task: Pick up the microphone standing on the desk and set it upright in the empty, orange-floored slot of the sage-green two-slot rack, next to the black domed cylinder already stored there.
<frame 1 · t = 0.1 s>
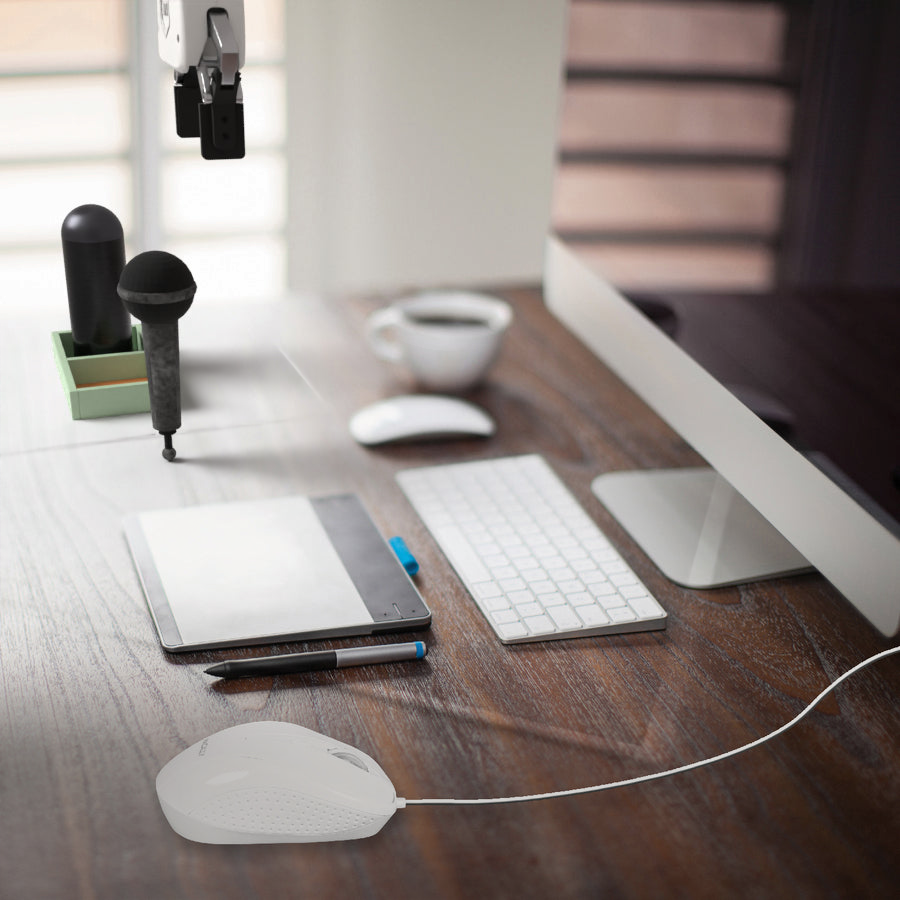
hand: (209, 147, 89), 30 cm above the table, tool pointing down, fingers open, 9 cm apart
microphone: (169, 461, 108), on the table
black domed cylinder: (105, 366, 128), resting on mic rack
mic rack: (111, 385, 124), on the table
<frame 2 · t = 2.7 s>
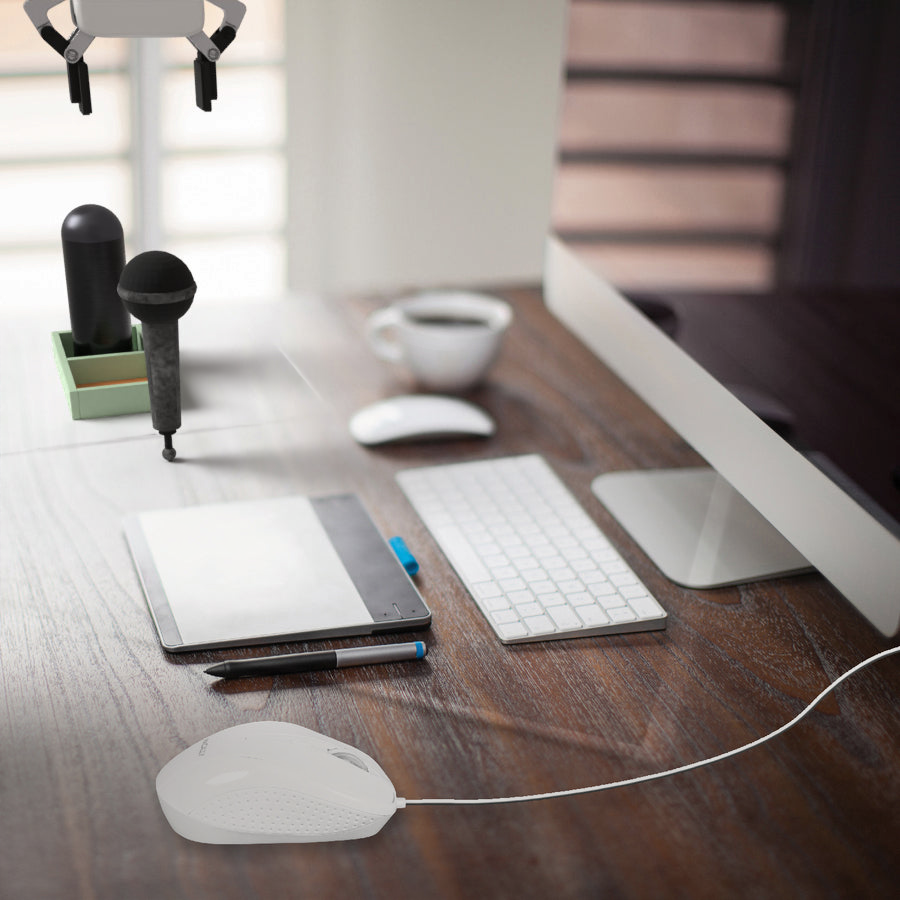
hand: (145, 111, 94), 32 cm above the table, tool pointing down, fingers open, 9 cm apart
nothing on the table moved.
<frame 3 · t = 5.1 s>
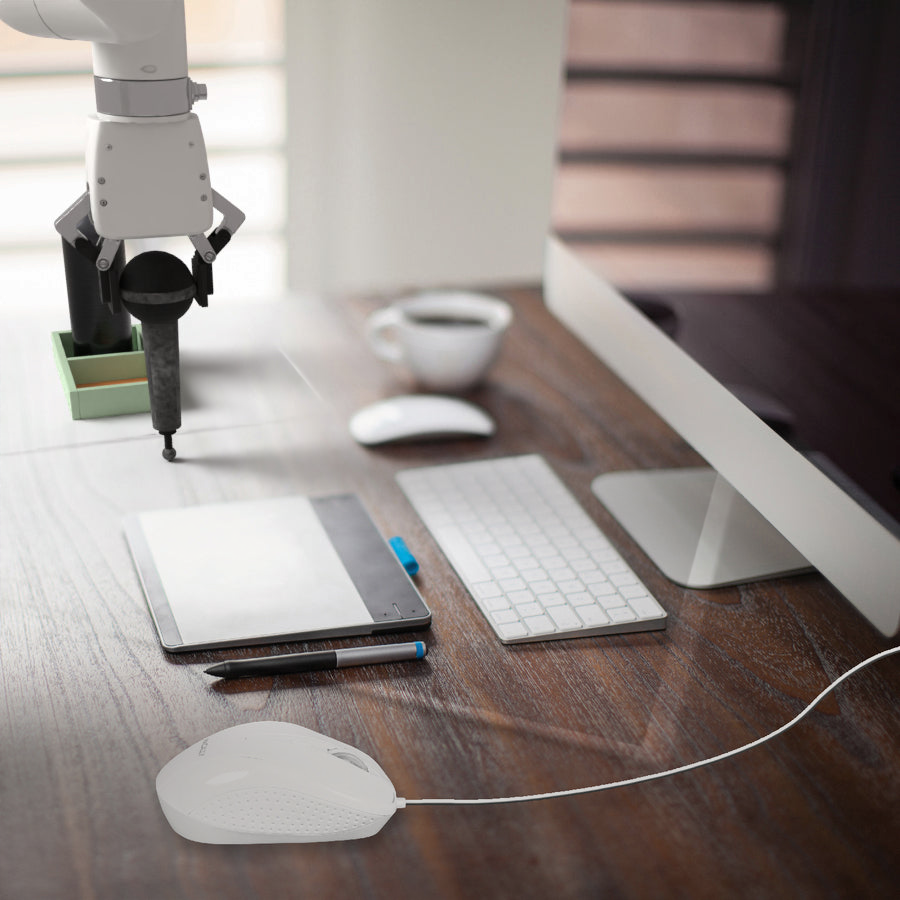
hand: (158, 305, 101), 15 cm above the table, tool pointing down, fingers closed on microphone, 7 cm apart
microphone: (169, 461, 108), on the table, touching gripper
everything else where it was.
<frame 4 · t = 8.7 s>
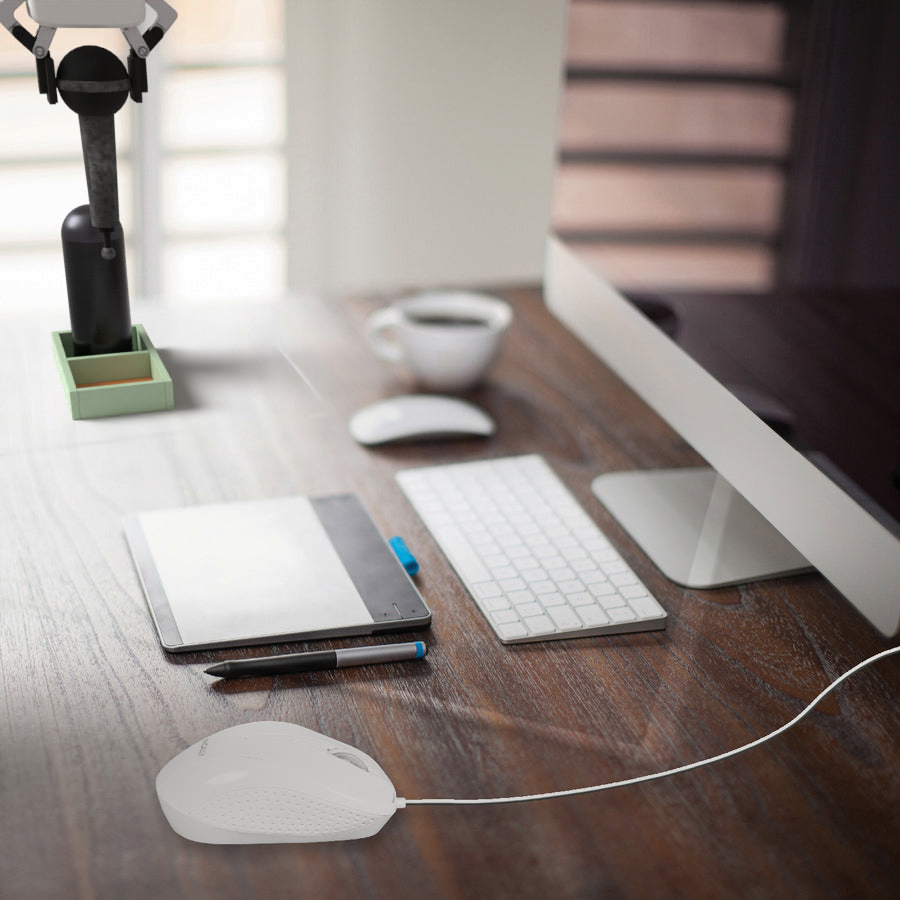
hand: (94, 100, 106), 31 cm above the table, tool pointing down, fingers closed on microphone, 7 cm apart
microphone: (109, 261, 112), point 15 cm above the table, touching gripper
everything else where it was.
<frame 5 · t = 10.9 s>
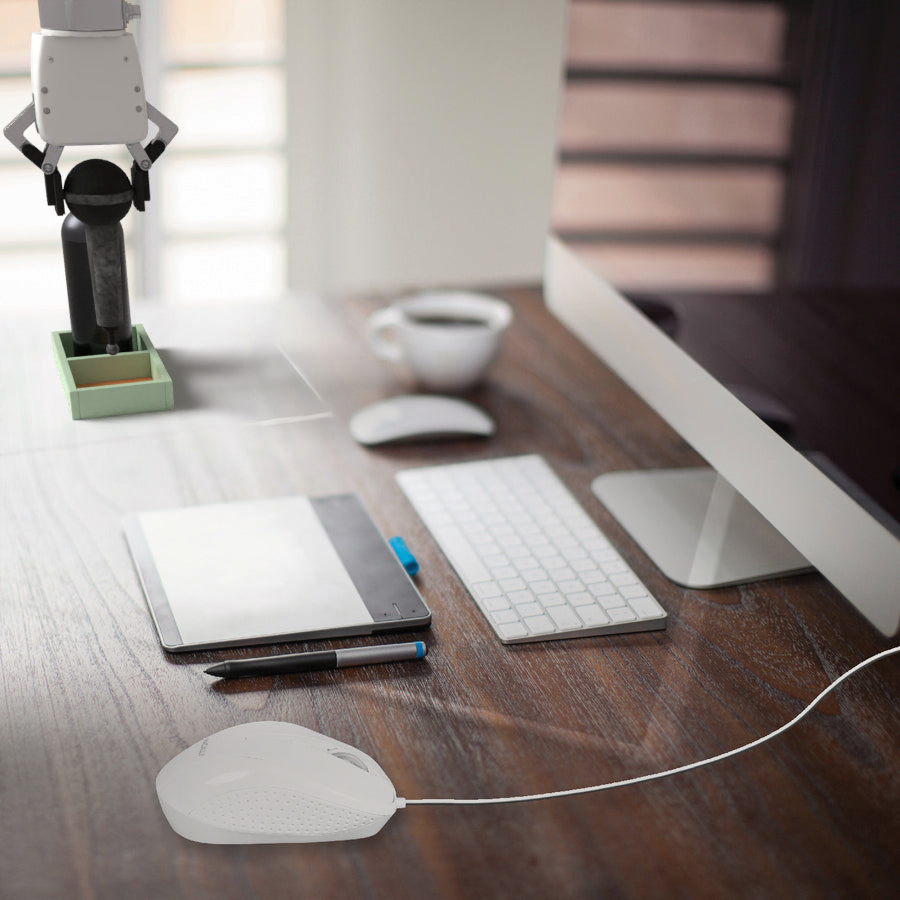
hand: (100, 209, 112), 20 cm above the table, tool pointing down, fingers closed on microphone, 7 cm apart
microphone: (113, 356, 118), point 5 cm above the table, touching gripper
everything else where it was.
when the fingers open (16 cm above the table, at t = 12.6 s): microphone stays where it is, resting on mic rack.
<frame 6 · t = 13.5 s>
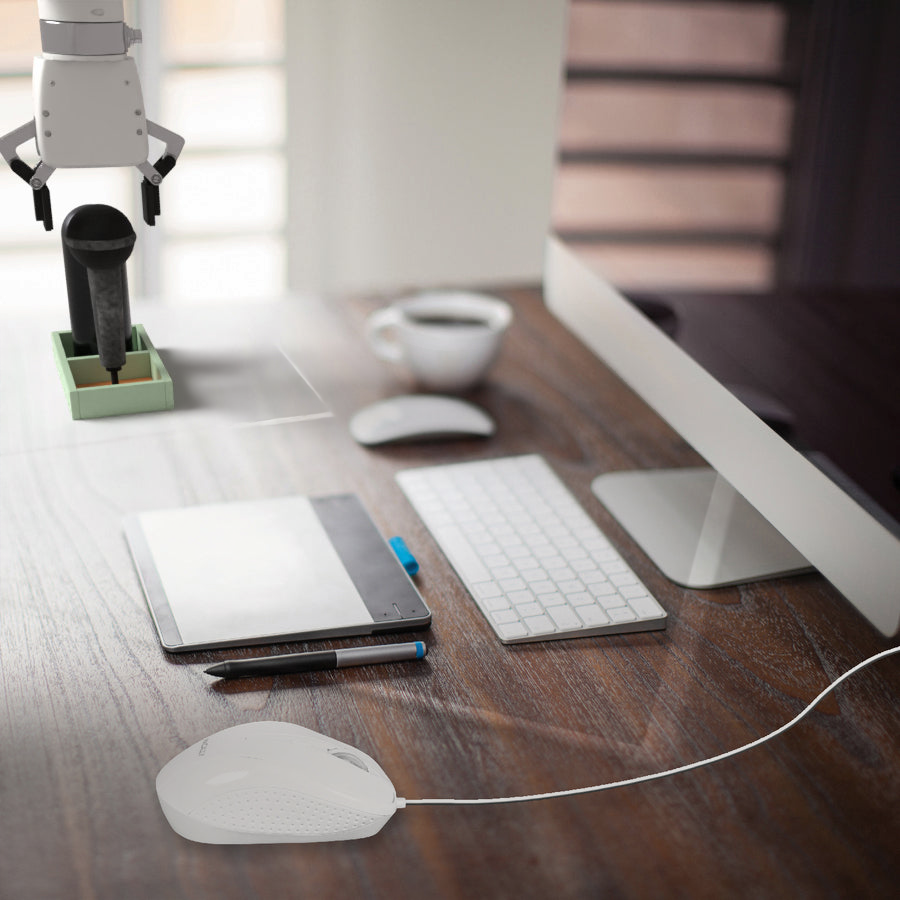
hand: (99, 225, 112), 19 cm above the table, tool pointing down, fingers open, 9 cm apart
microphone: (116, 396, 120), point 1 cm above the table, touching mic rack
everything else where it was.
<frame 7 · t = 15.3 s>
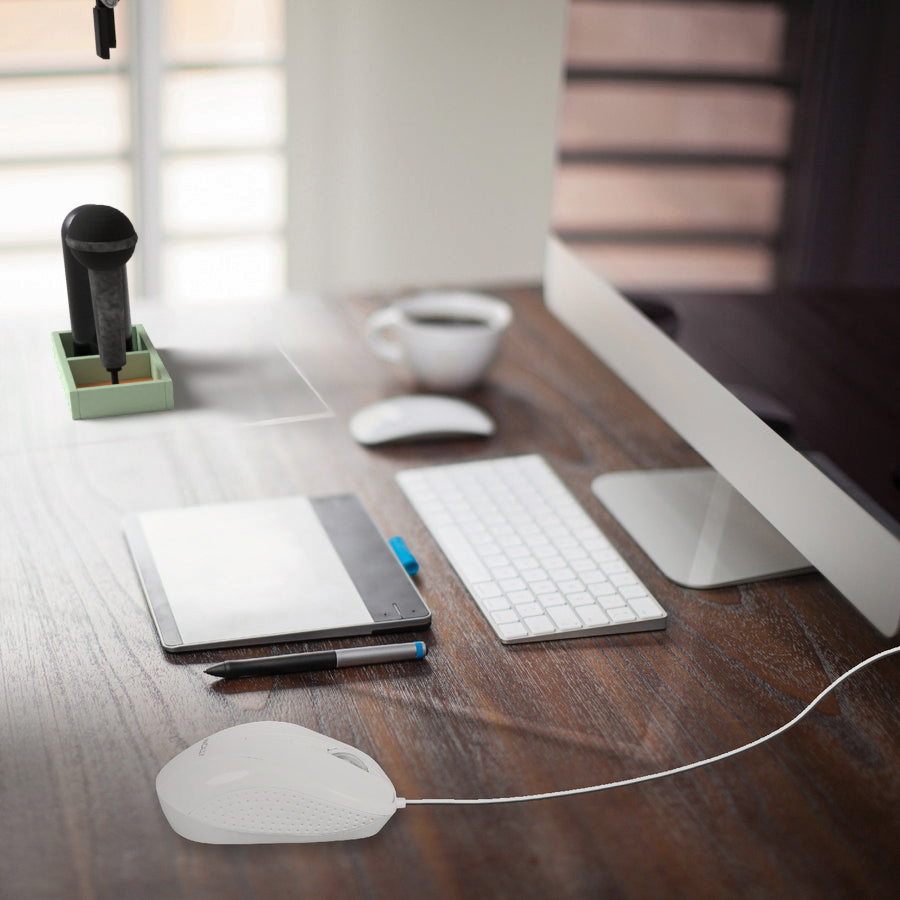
hand: (42, 57, 93), 36 cm above the table, tool pointing down, fingers open, 9 cm apart
nothing on the table moved.
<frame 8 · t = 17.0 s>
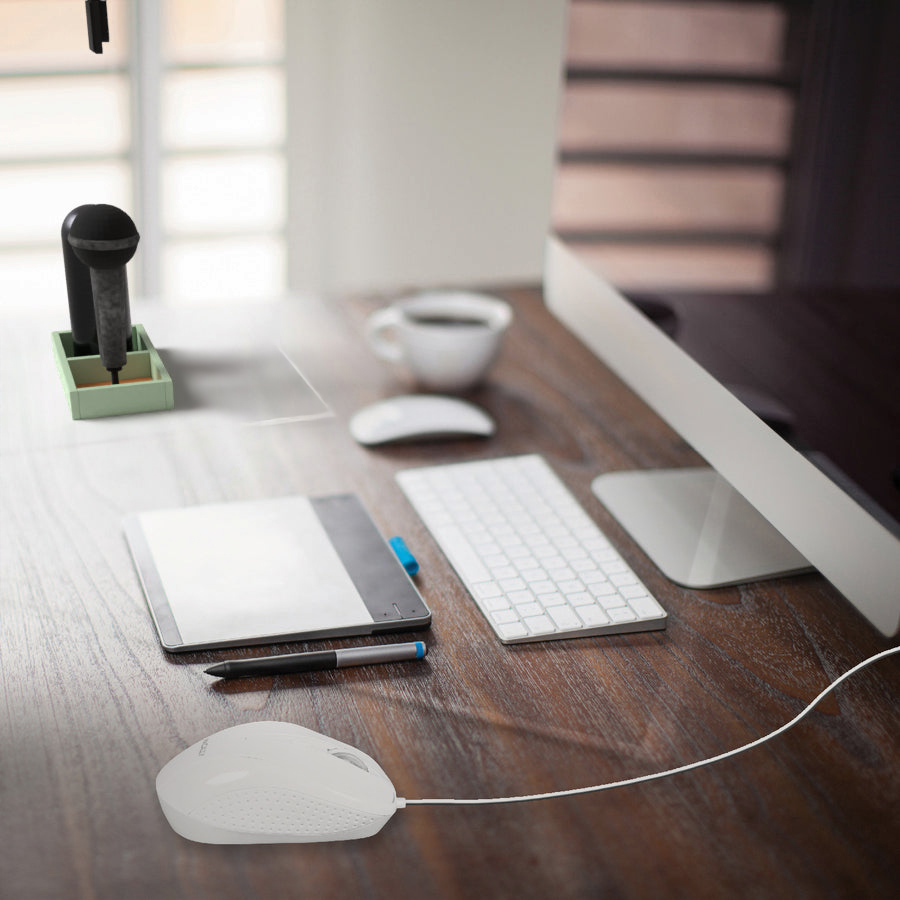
hand: (34, 52, 91), 36 cm above the table, tool pointing down, fingers open, 9 cm apart
nothing on the table moved.
at the end: microphone 0.1 cm from the target spot in the mic rack, point 0.5 cm above the mic rack's base; microphone tilted 1°; black domed cylinder moved 0.0 cm from its start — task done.
